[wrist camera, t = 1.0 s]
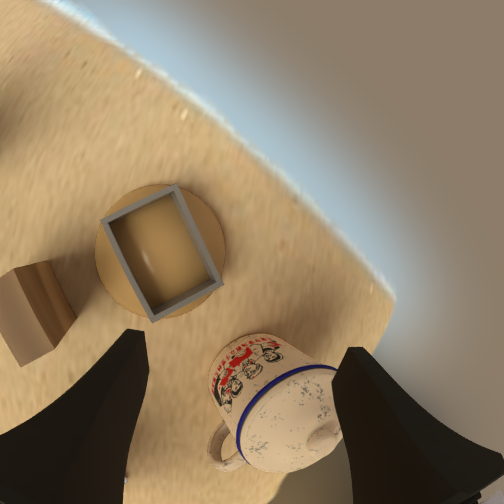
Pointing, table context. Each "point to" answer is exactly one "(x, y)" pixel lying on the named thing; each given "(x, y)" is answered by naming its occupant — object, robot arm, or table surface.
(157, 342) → the table surface
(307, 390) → the teacup with lid
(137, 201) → the grey open box
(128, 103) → the table surface
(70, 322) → the brown wooden block
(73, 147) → the table surface
